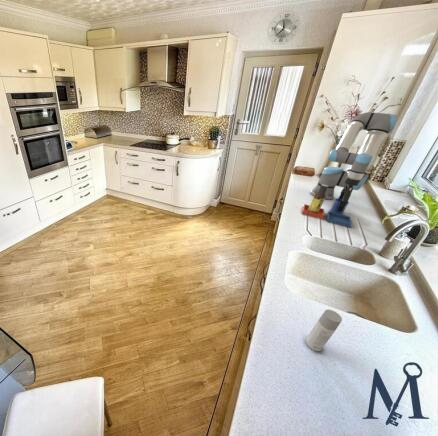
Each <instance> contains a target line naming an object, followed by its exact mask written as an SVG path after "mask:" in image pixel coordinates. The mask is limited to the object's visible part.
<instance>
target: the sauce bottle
mask: <svg viewBox="0 0 438 436" xmlns="http://www.w3.org/2000/svg"><path fill="white" fill-rule="evenodd" d="M327 188H328V186H327V185H324V184H321V186H320V189H319V191H318V192H316V193H315V195H314V196H313V197H312V199H311V201H310V204H309V208H308V212H312V213H316V214H317V213H318V212H319V210H320V208H322V206H323V203H324V202H325V200H326V199H325V192H326V190H327Z"/></svg>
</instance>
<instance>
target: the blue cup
mask: <svg viewBox="0 0 438 436" xmlns="http://www.w3.org/2000/svg"><path fill="white" fill-rule="evenodd" d="M342 200H343V199H338V198H335V199H334V200H333V202H332V205H331V207H330V209H329V212H333V213H338V214H342V215H344V213H345V211H346V209H347V207H348V205H349V204H350V202H349V201H348V203H346V205H345V206H344V208H343V210H342V212H341V211H337V209H338V207H339V205H340V203H341V202H340V201H342ZM344 201H345V200H344Z"/></svg>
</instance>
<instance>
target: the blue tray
mask: <svg viewBox="0 0 438 436" xmlns="http://www.w3.org/2000/svg"><path fill="white" fill-rule="evenodd" d="M326 222H327V223H331V224H335V225H338V226H342V227H346V228H351V227H352V226H353V224H352V223H353V222H352V219H351V216H349V215H345V214H343V215H342V214H338V213H333V212H330V210H329V211H327V213H326Z"/></svg>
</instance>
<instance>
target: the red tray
mask: <svg viewBox="0 0 438 436" xmlns="http://www.w3.org/2000/svg"><path fill="white" fill-rule="evenodd" d="M309 206H310V204H305V203H304V204H303V206H302V212H301V214H302V215H305V216H309V217H313V218H317V219H321V220H324V218H325V208H322V207H321V208H320V210H319V212H318V213H317V214H316V213H312V212H308V208H309Z"/></svg>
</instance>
